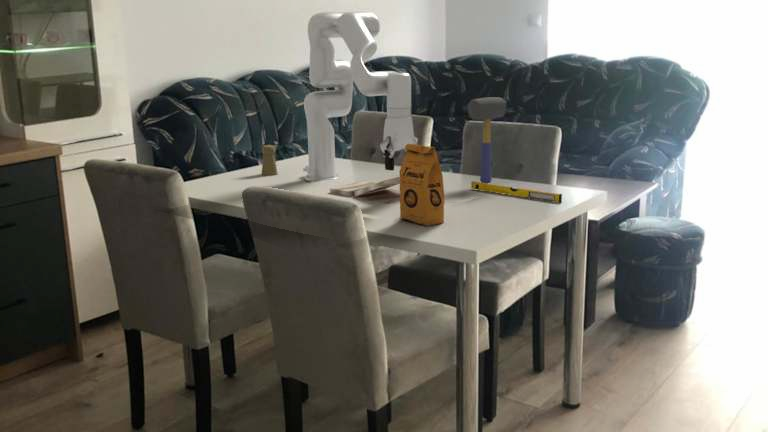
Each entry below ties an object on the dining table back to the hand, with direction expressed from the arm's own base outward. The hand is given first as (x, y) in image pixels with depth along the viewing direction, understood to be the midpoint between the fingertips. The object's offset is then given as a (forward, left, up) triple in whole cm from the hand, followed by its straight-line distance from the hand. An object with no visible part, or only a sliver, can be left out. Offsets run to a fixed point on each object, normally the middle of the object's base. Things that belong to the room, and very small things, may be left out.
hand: (399, 167), depth 259 cm
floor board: (-11, 0, -11) cm, 15 cm away
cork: (-69, +6, -11) cm, 70 cm away
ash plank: (-6, 0, -7) cm, 9 cm away
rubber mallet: (+6, +39, -11) cm, 41 cm away
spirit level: (+24, +29, -11) cm, 40 cm away
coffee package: (+22, -17, -11) cm, 30 cm away
